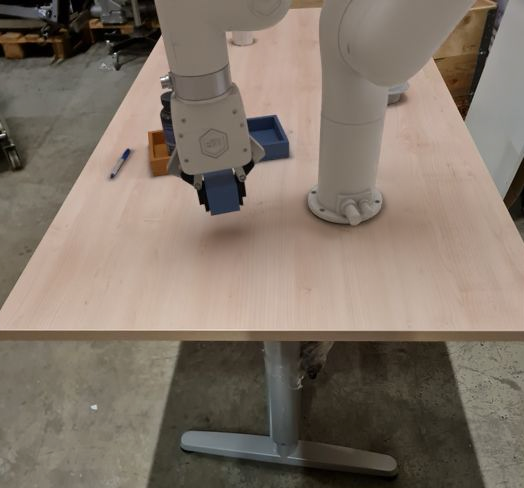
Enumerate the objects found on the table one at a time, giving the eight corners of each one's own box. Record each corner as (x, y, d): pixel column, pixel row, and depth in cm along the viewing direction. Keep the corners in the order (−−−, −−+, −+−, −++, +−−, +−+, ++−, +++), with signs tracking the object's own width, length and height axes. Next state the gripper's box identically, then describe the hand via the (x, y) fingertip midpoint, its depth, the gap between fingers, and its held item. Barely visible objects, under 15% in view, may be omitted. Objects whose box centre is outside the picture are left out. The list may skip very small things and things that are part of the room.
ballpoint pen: (127, 151, 98) (125, 146, 98) (131, 151, 98) (129, 146, 98) (110, 178, 92) (108, 174, 91) (114, 179, 92) (113, 174, 91)
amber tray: (218, 167, 93) (216, 151, 90) (153, 176, 92) (149, 160, 89) (211, 138, 100) (209, 123, 98) (151, 146, 99) (147, 131, 97)
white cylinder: (227, 40, 138) (225, 12, 133) (249, 36, 140) (247, 7, 134) (237, 47, 134) (234, 18, 129) (259, 43, 136) (257, 13, 130)
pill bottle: (193, 162, 93) (183, 103, 85) (163, 160, 94) (151, 102, 86) (202, 146, 97) (193, 88, 88) (173, 145, 98) (162, 87, 89)
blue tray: (289, 157, 94) (289, 141, 91) (225, 166, 93) (223, 150, 90) (276, 129, 101) (276, 114, 99) (217, 137, 100) (216, 122, 98)
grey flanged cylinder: (385, 47, 95) (428, 38, 97) (360, 33, 101) (400, 24, 103) (376, 111, 105) (416, 101, 107) (354, 94, 111) (391, 85, 113)
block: (240, 210, 74) (236, 183, 70) (211, 216, 74) (205, 189, 70) (236, 194, 77) (232, 168, 73) (207, 199, 77) (202, 173, 73)
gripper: (136, 104, 58) (172, 228, 72) (272, 80, 59) (281, 207, 73) (135, 80, 63) (168, 200, 77) (261, 58, 64) (271, 181, 78)
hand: (223, 202), depth 75 cm, fingers closed on block, 4 cm apart
